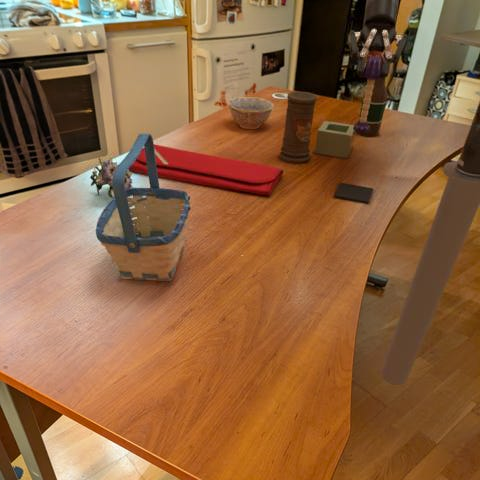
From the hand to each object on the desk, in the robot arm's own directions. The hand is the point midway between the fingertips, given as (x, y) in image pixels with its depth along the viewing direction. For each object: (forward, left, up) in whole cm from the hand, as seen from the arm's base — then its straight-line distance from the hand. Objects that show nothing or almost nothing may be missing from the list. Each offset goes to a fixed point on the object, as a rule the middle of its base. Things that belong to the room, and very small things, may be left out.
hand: (372, 76), depth 109 cm
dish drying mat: (+39, +9, -28) cm, 49 cm away
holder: (+9, -26, -28) cm, 39 cm away
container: (+19, -14, -28) cm, 37 cm away
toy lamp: (0, -2, -13) cm, 13 cm away
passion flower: (+55, +32, -28) cm, 70 cm away
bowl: (+41, -36, -28) cm, 62 cm away
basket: (+32, +56, -28) cm, 70 cm away
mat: (-2, +4, -28) cm, 28 cm away
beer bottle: (+1, -48, -28) cm, 56 cm away
